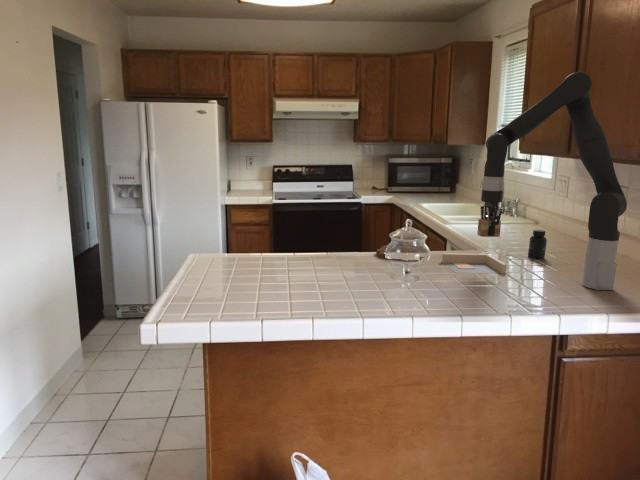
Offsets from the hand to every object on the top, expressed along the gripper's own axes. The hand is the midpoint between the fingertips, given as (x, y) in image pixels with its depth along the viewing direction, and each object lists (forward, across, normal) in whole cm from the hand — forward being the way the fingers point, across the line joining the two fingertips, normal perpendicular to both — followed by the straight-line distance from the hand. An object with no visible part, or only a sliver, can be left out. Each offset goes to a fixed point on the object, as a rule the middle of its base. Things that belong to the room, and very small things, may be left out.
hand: (488, 234), depth 195 cm
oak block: (0, 0, 0) cm, 0 cm away
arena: (+14, +4, +4) cm, 15 cm away
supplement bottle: (+15, +24, -33) cm, 43 cm away
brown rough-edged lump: (+14, +26, +26) cm, 40 cm away
